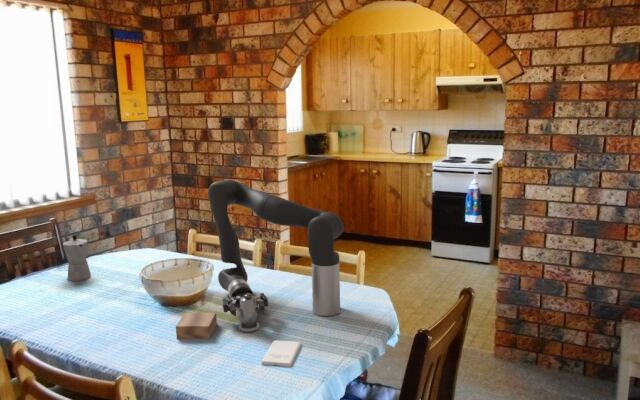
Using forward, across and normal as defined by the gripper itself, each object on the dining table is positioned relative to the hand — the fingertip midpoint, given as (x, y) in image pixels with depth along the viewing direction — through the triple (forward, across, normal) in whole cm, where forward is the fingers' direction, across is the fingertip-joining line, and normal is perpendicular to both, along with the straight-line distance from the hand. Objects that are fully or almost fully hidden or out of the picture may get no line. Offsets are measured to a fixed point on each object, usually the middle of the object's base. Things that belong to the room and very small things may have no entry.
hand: (248, 311), depth 164 cm
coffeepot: (-74, -58, +6) cm, 94 cm away
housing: (-1, 0, +6) cm, 6 cm away
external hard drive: (+19, +6, +7) cm, 21 cm away
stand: (-4, -16, +6) cm, 17 cm away
